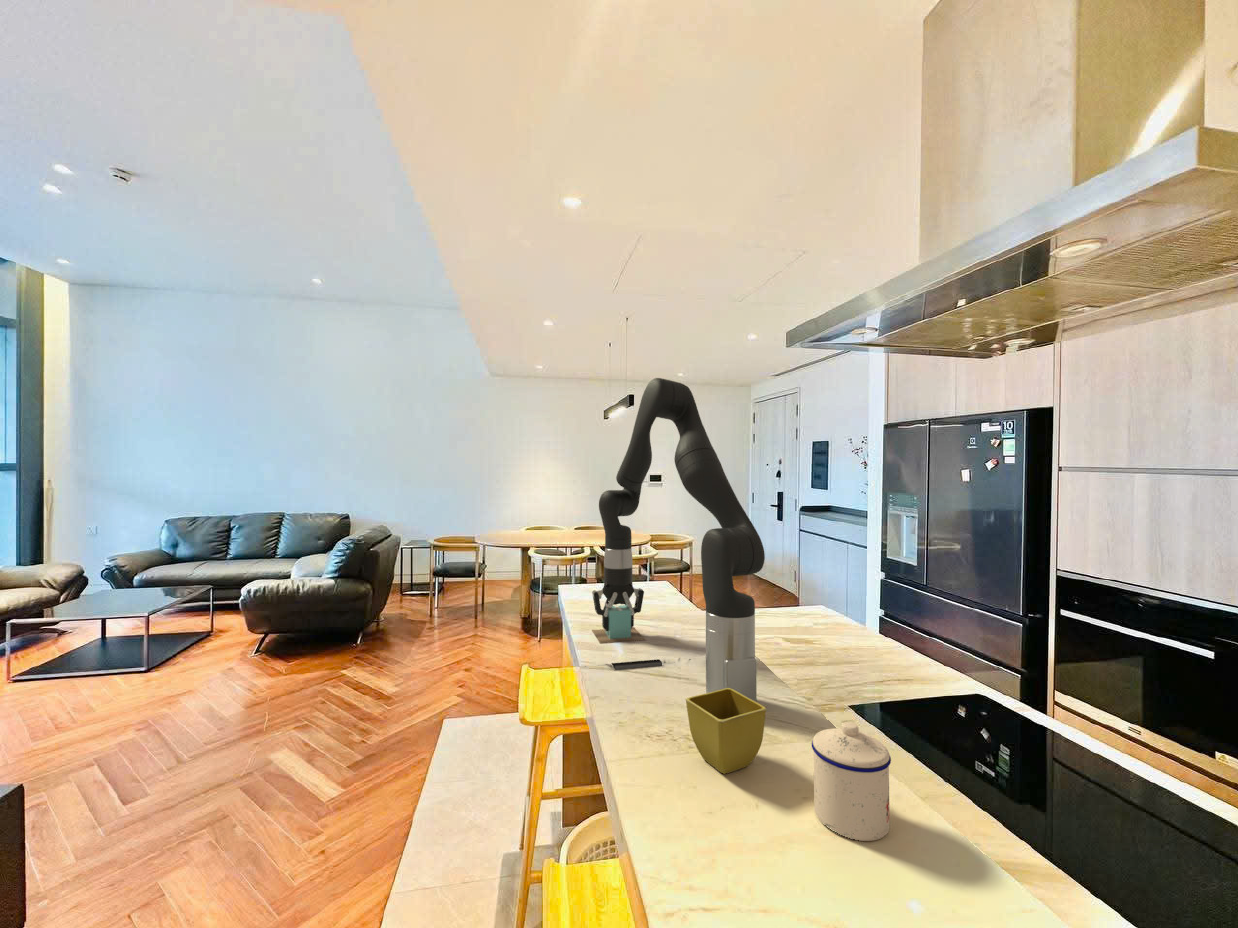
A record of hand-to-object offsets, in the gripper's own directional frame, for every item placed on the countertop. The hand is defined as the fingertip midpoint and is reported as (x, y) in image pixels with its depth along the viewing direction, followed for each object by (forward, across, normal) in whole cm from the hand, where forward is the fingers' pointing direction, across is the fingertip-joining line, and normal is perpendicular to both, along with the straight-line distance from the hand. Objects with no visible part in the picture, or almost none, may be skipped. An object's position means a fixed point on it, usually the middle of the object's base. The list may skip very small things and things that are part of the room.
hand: (618, 629), depth 136 cm
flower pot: (+3, +2, -61) cm, 61 cm away
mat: (+3, 0, -15) cm, 15 cm away
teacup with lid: (+3, +12, -75) cm, 76 cm away
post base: (+3, 0, 0) cm, 3 cm away
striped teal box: (+1, 0, 0) cm, 1 cm away
